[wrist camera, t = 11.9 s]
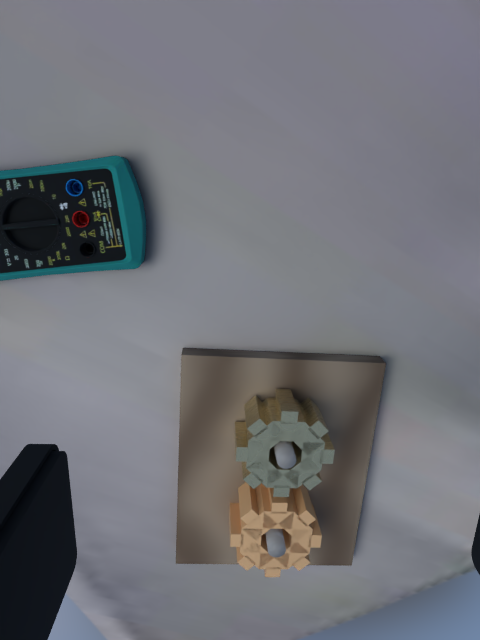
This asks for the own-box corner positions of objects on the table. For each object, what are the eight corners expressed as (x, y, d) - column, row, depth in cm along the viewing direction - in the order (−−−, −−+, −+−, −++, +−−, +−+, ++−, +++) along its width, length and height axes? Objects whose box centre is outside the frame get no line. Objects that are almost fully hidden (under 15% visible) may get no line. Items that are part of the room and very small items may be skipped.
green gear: (328, 390, 36) (340, 413, 32) (317, 469, 38) (327, 497, 34) (237, 387, 35) (239, 409, 32) (231, 466, 37) (233, 495, 34)
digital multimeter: (153, 261, 34) (148, 269, 31) (-51, 283, 34) (-76, 293, 31) (137, 155, 32) (129, 152, 29) (-82, 178, 32) (-113, 177, 29)
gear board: (379, 356, 37) (409, 388, 31) (347, 552, 43) (367, 610, 37) (182, 348, 36) (176, 379, 30) (177, 550, 42) (170, 609, 36)
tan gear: (316, 474, 38) (326, 503, 35) (307, 543, 40) (316, 577, 37) (231, 472, 38) (233, 502, 34) (227, 542, 40) (228, 576, 36)
